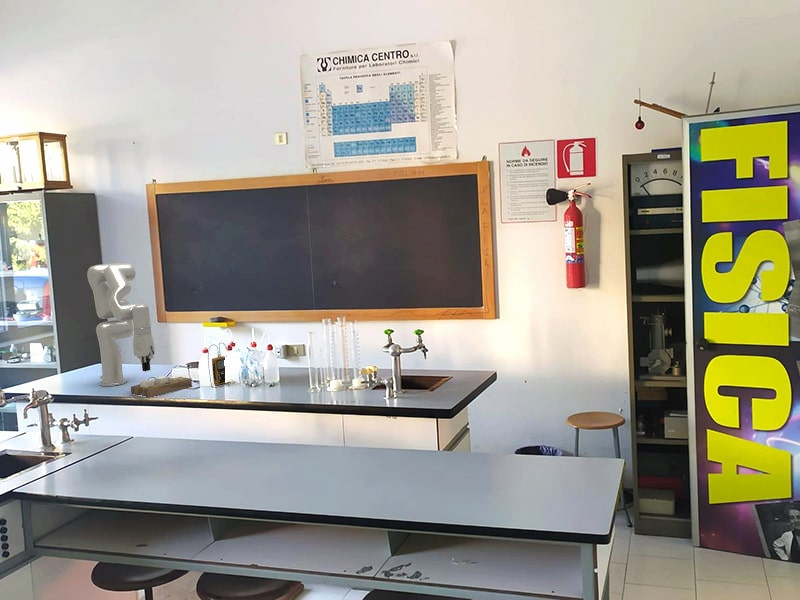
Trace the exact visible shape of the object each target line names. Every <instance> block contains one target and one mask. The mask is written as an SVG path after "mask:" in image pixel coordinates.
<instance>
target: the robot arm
mask: <svg viewBox="0 0 800 600" xmlns="http://www.w3.org/2000/svg"><path fill="white" fill-rule="evenodd" d="M136 274H137V273H136V269H135V267H134V266H133V265H132V264H131V263H125V262H124V263H123V262H118V263H104V264H96V265H92V266H90V267H89V268H88V270H87V274H86V275H87V276H86V277H87V281H88V283H89V285H90V288H91V290H92V293H93V298H94V306H95V310H96V311H95V312H96V315H97V317H98V319H103V320H104V319H105V320H107V319H115V320H107V321H102V322H100V323H99V324H97V326H96V328H95V331H96V332H95V333H96V336H97V340H98V345H99V352H100V353H99V354H100V362H101V371H102V372H101V373H102V374H101V376H100V375H99V376H100V377H99V378H100V379H102V381H101V382H99V385H100V386H101V387H114V386H120V385H123V384H126V383H127V382H128V380H127V379H126V378H124V374H123V373H124V371H123V363H122V362H123V361H122V353H121V351H122V350H121V347H120V345H119V344H118V343H117V342H116V340H120V339H126V338H131V336H133V338H132V339H133V340H132V344H133V346H132V348H133V349H132V350H133V351H132V352H133V355H134V357H137V359H139V360H140V363H141V368H142V372H149V371H151V360H152V359H154V355H155V344H154V338H153V334H152V327H151V316H150V307H149V305H148V304H143V303H129V301H128V300H127V299H126V298H125V297H126V296H128V295H129V294H130V292H131V290H132V287H131V285H130V283H129V281H133V280H135V278H136ZM106 282H107V283H106Z"/></svg>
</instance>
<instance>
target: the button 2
mask: <svg viewBox="0 0 800 600" xmlns="http://www.w3.org/2000/svg"><path fill="white" fill-rule="evenodd" d="M171 376H172V377H171ZM171 376H167V377H168V379H169V380H178V379H182V377H183V376H181V375H171Z"/></svg>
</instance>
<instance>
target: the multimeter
mask: <svg viewBox="0 0 800 600" xmlns="http://www.w3.org/2000/svg"><path fill="white" fill-rule="evenodd" d="M220 344H221V342H219V344H218V346H217V345H216V344H214V346H215V347H216V348H217V349H218V351H217V357H214V358H211V366H212V377H213V385H214V384H215V385H214V386H216V388H221V387H224V385H223V384H226V383H225V366H224V360H225V356H224V355H221V349H220V348H221V347H220ZM222 344H223V345H224V347H225V350H226V349H227V346H226V344H225V343H224V342H222ZM212 346H213V344H211V345H210V346H209V348H208V351H207V364H208V367H210V361H209V359H210V358H209V356H210V355H209V354H210V349H211V347H212ZM208 372H209V375H211V372H210V369H208ZM209 380H210V382H212V379H211V376H209ZM227 384H228V385H227V386H228V387H230V383H227ZM210 385H211V387H213V385H212V383H210Z"/></svg>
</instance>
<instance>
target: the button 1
mask: <svg viewBox="0 0 800 600" xmlns="http://www.w3.org/2000/svg"><path fill="white" fill-rule="evenodd" d="M139 384H140V387H145V388H147V387H151V386H154V379H145V380H140V381H139Z"/></svg>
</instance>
